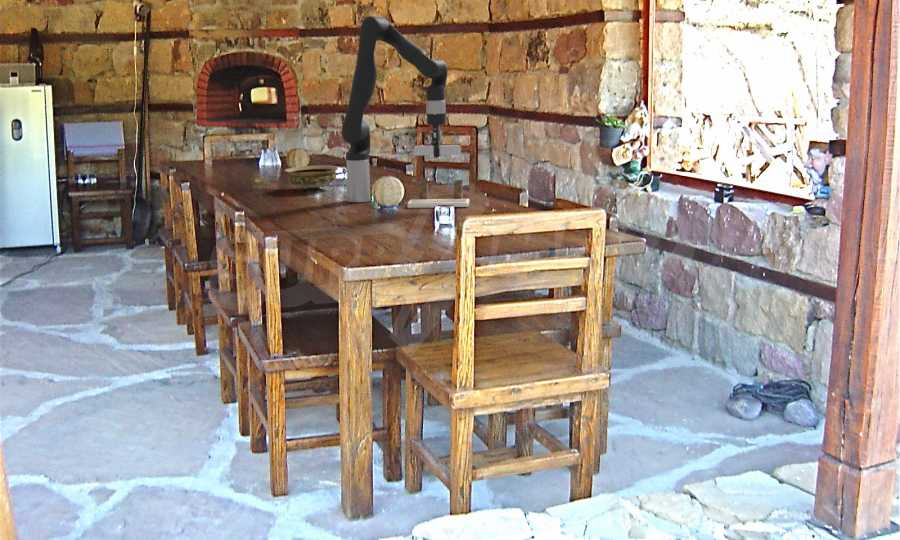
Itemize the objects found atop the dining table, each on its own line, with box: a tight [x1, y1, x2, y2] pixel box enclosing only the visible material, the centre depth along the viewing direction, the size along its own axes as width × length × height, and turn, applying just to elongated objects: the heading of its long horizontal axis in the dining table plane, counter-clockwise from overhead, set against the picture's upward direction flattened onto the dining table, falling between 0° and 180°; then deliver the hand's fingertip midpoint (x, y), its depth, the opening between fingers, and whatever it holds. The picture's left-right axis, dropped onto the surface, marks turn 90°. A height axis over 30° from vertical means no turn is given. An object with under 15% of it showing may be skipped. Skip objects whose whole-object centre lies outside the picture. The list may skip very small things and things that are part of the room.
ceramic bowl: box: [284, 164, 339, 192], centre depth 439 cm, size 30×24×10 cm
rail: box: [413, 144, 462, 157], centre depth 381 cm, size 18×4×4 cm, turn 84°
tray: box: [407, 198, 471, 209], centre depth 385 cm, size 24×10×2 cm, turn 84°
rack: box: [418, 179, 464, 199], centre depth 394 cm, size 20×6×9 cm, turn 84°
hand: (437, 156), depth 381 cm, fingers closed on rail, 3 cm apart
